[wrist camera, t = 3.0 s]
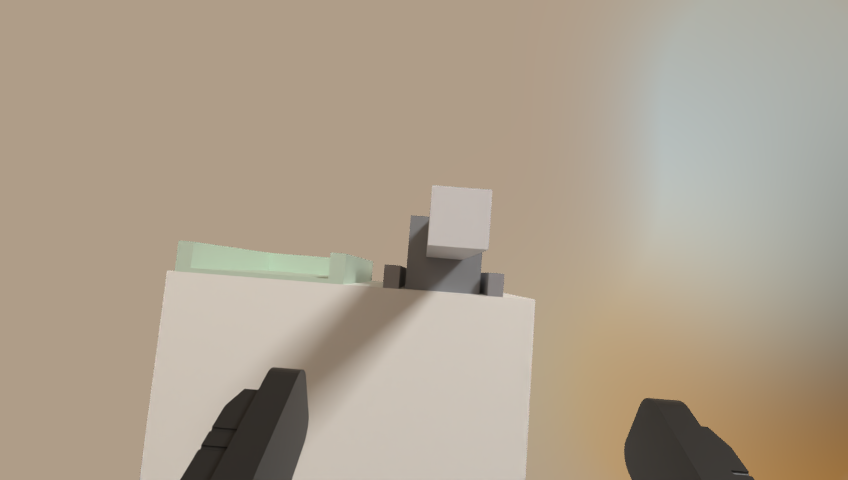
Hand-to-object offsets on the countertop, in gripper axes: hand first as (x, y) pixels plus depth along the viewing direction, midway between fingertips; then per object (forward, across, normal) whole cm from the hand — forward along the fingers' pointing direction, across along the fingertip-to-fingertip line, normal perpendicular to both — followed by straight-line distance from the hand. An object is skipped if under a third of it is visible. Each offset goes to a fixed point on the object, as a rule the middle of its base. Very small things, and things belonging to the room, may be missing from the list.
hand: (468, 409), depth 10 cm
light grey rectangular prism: (+16, 0, +7) cm, 17 cm away
